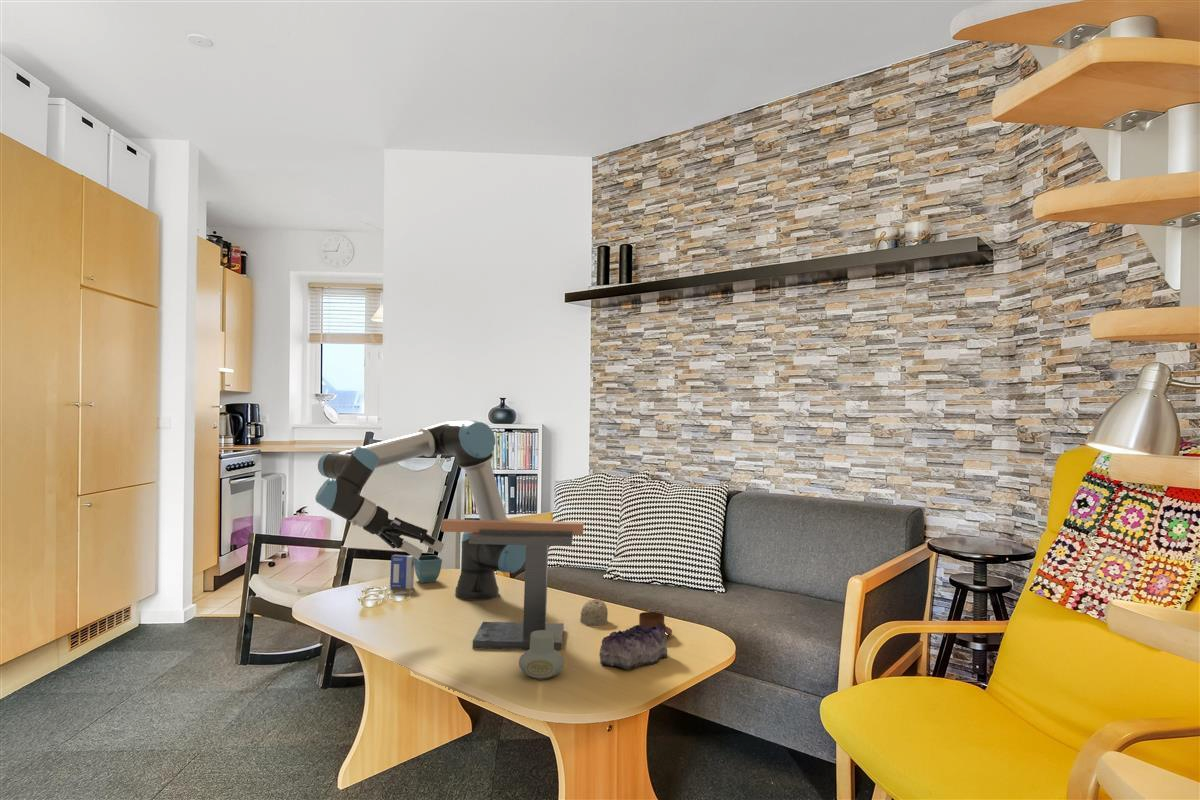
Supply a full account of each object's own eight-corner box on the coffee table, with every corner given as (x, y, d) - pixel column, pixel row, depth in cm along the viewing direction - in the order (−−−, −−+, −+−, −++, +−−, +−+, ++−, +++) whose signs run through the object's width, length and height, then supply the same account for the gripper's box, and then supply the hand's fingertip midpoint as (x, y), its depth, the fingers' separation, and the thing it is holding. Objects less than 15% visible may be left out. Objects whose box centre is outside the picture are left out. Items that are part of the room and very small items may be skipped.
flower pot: (441, 582, 257) (442, 558, 258) (418, 584, 253) (419, 560, 253) (435, 577, 265) (435, 554, 265) (412, 580, 260) (413, 556, 261)
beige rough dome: (608, 635, 210) (615, 606, 215) (598, 624, 204) (606, 595, 209) (583, 630, 214) (591, 602, 219) (573, 620, 207) (581, 591, 212)
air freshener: (564, 669, 169) (565, 628, 170) (562, 681, 161) (563, 639, 162) (520, 668, 169) (521, 627, 170) (516, 680, 161) (517, 638, 162)
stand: (465, 648, 183) (469, 532, 184) (475, 628, 201) (479, 523, 202) (568, 650, 184) (571, 535, 185) (570, 630, 202) (573, 525, 203)
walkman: (389, 588, 246) (391, 555, 247) (392, 586, 249) (394, 553, 250) (411, 589, 246) (412, 556, 246) (413, 587, 248) (414, 554, 249)
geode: (645, 647, 188) (650, 612, 188) (675, 664, 180) (681, 628, 179) (589, 659, 175) (595, 621, 175) (619, 679, 166) (625, 639, 166)
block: (441, 531, 191) (441, 520, 191) (444, 529, 195) (444, 519, 195) (583, 534, 192) (583, 524, 192) (583, 532, 196) (583, 522, 196)
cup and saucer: (679, 635, 200) (679, 614, 200) (659, 645, 190) (659, 623, 190) (644, 627, 207) (644, 607, 207) (623, 637, 197) (623, 616, 197)
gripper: (346, 535, 199) (406, 568, 207) (381, 520, 181) (446, 557, 190) (358, 512, 203) (417, 546, 212) (394, 496, 185) (456, 533, 194)
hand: (431, 551), depth 201 cm, fingers open, 13 cm apart
